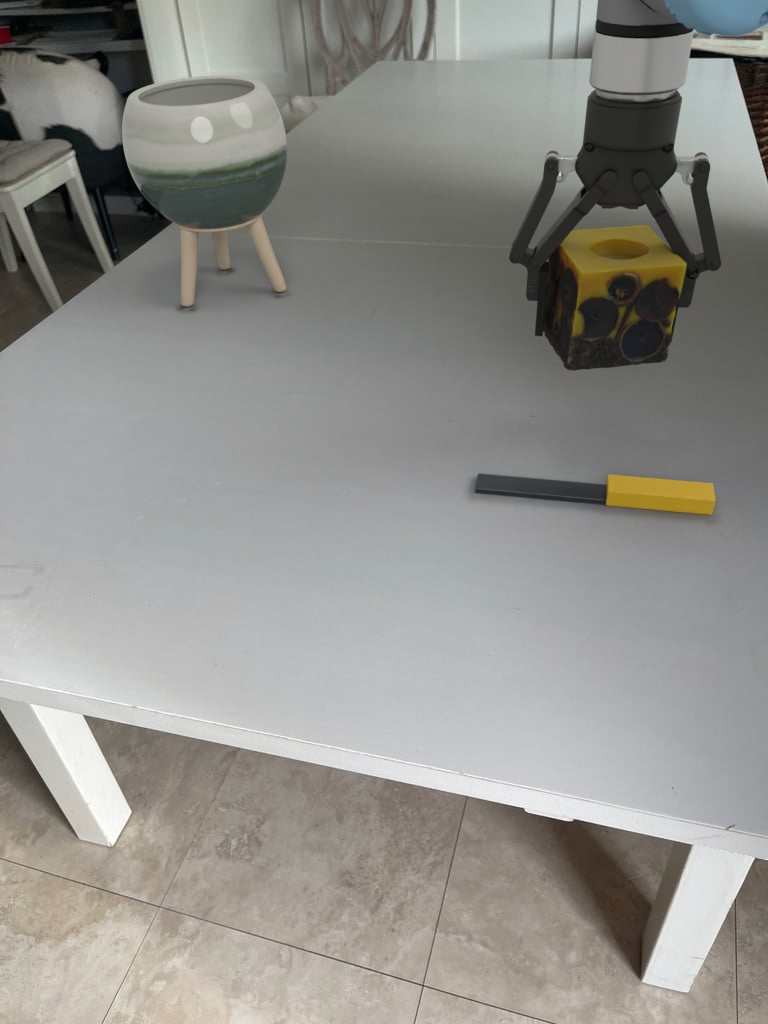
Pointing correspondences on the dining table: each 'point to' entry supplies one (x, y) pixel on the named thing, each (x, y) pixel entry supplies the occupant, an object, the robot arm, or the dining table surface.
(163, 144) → the planter
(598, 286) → the candle
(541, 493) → the knife
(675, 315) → the robot arm
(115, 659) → the dining table surface
